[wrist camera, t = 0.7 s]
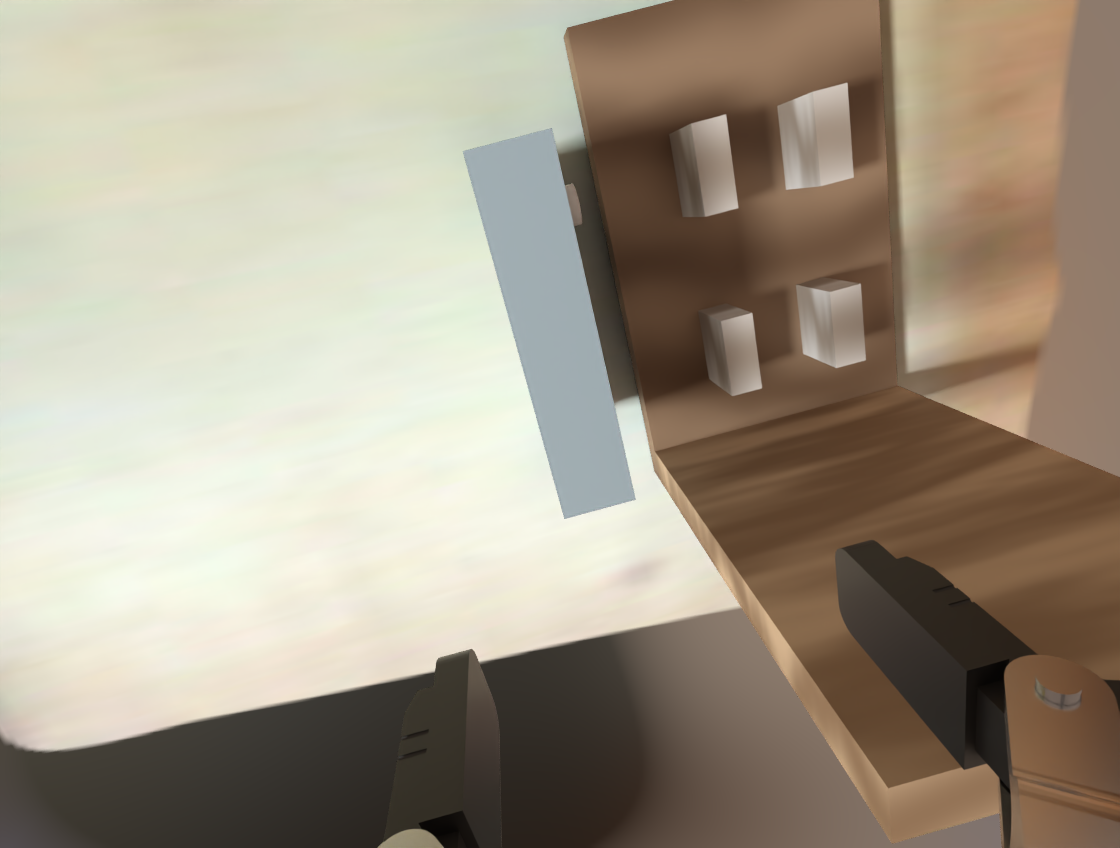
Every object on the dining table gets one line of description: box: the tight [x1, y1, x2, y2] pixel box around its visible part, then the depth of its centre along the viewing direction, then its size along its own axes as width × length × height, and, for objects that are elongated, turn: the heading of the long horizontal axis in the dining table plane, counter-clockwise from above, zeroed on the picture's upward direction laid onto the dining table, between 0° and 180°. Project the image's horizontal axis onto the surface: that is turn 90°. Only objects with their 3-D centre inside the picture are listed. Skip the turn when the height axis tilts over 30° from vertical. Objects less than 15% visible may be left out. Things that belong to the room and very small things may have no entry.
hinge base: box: [564, 0, 1120, 844], centre depth 22 cm, size 24×15×24 cm, turn 14°
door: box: [463, 128, 636, 519], centre depth 27 cm, size 14×4×12 cm, turn 14°
